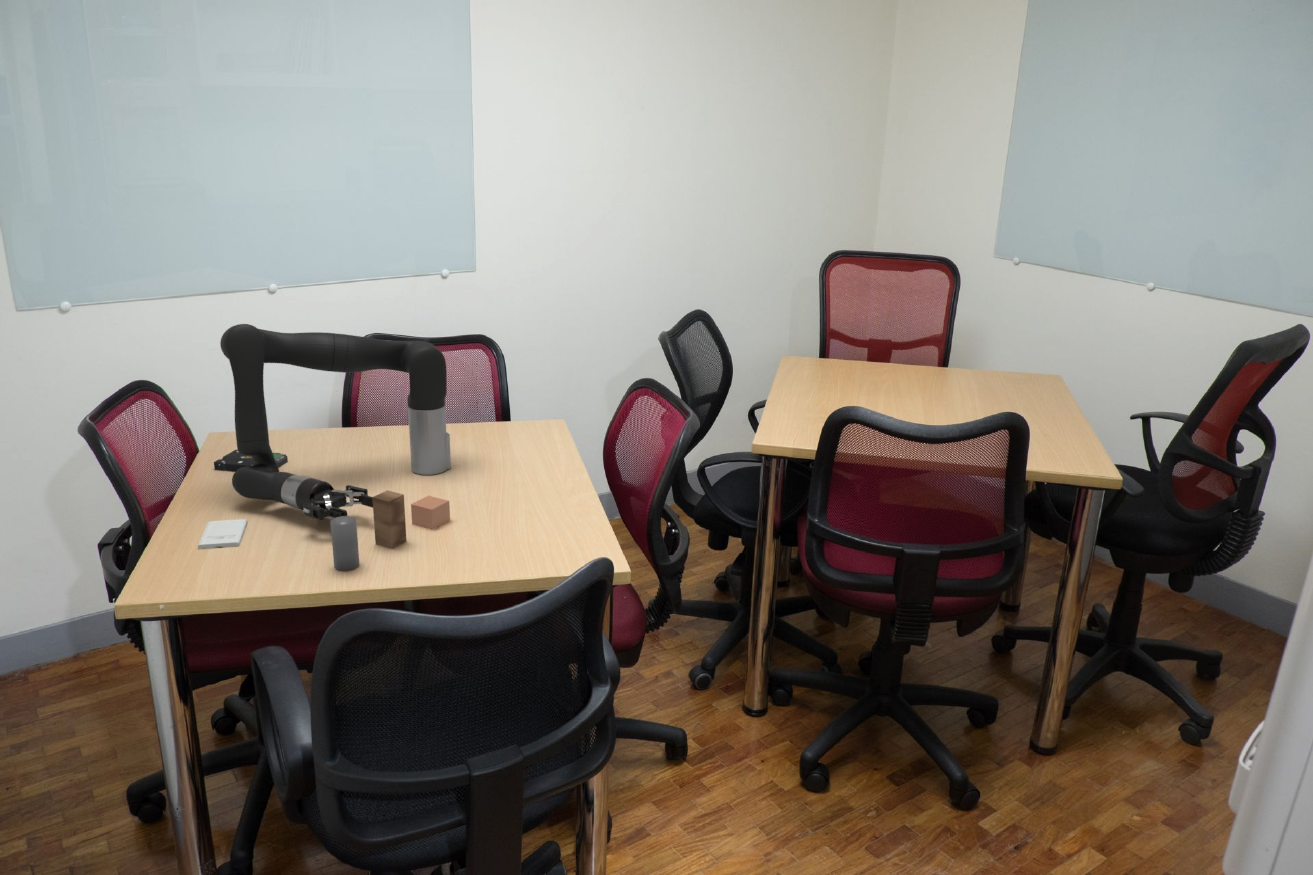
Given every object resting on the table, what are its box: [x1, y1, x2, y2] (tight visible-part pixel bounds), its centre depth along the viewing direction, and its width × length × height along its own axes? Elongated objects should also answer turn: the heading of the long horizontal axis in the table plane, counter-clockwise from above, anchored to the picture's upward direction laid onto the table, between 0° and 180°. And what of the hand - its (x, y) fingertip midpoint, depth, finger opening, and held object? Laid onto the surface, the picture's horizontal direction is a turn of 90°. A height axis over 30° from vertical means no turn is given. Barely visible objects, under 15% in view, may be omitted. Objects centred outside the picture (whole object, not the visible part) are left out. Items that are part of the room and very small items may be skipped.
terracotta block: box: [410, 495, 451, 531], centre depth 227 cm, size 6×6×5 cm
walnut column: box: [371, 490, 407, 550], centre depth 215 cm, size 5×5×11 cm
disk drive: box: [213, 449, 289, 473], centre depth 259 cm, size 10×3×15 cm
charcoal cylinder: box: [329, 515, 360, 572], centre depth 205 cm, size 5×5×10 cm
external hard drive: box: [197, 518, 248, 550], centre depth 218 cm, size 2×8×12 cm
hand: (360, 509), depth 219 cm, fingers open, 8 cm apart
